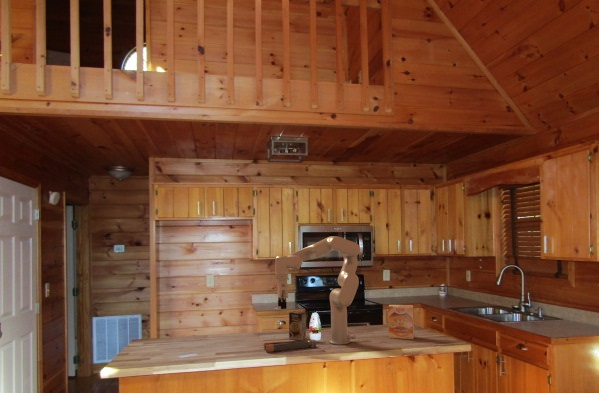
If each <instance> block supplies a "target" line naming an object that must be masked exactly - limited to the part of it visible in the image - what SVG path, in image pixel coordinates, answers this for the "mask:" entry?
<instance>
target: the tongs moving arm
mask: <svg viewBox="0 0 599 393" xmlns="http://www.w3.org/2000/svg"><path fill="white" fill-rule="evenodd" d="M311 340H312V339H309V340H306V341H300V340H299V341H300V342H290V343H281V344H270V345H266V350H265V352H266V353H272V352H273V353H274V352H280V351H281V352H282V351H289V350H295V349H296V350H297V349H298V350H299V349H307V348H313V347H312V341H311Z"/></svg>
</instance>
